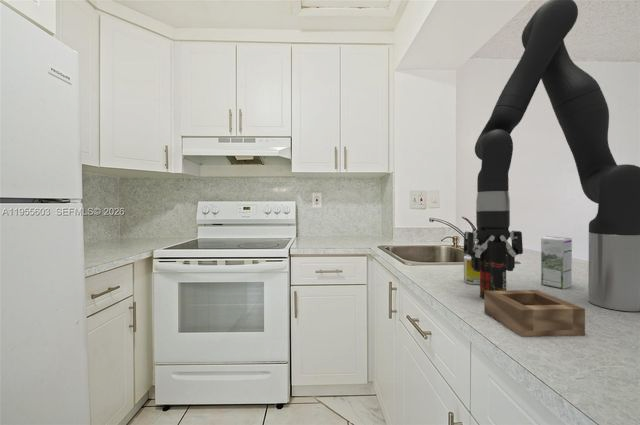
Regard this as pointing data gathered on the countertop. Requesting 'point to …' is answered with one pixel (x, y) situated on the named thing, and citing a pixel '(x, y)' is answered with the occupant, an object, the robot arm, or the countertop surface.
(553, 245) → the syrup box
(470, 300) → the countertop surface
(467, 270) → the supplement bottle
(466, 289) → the countertop surface
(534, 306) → the socket block
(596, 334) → the countertop surface
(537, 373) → the countertop surface
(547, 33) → the robot arm
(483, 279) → the deodorant
